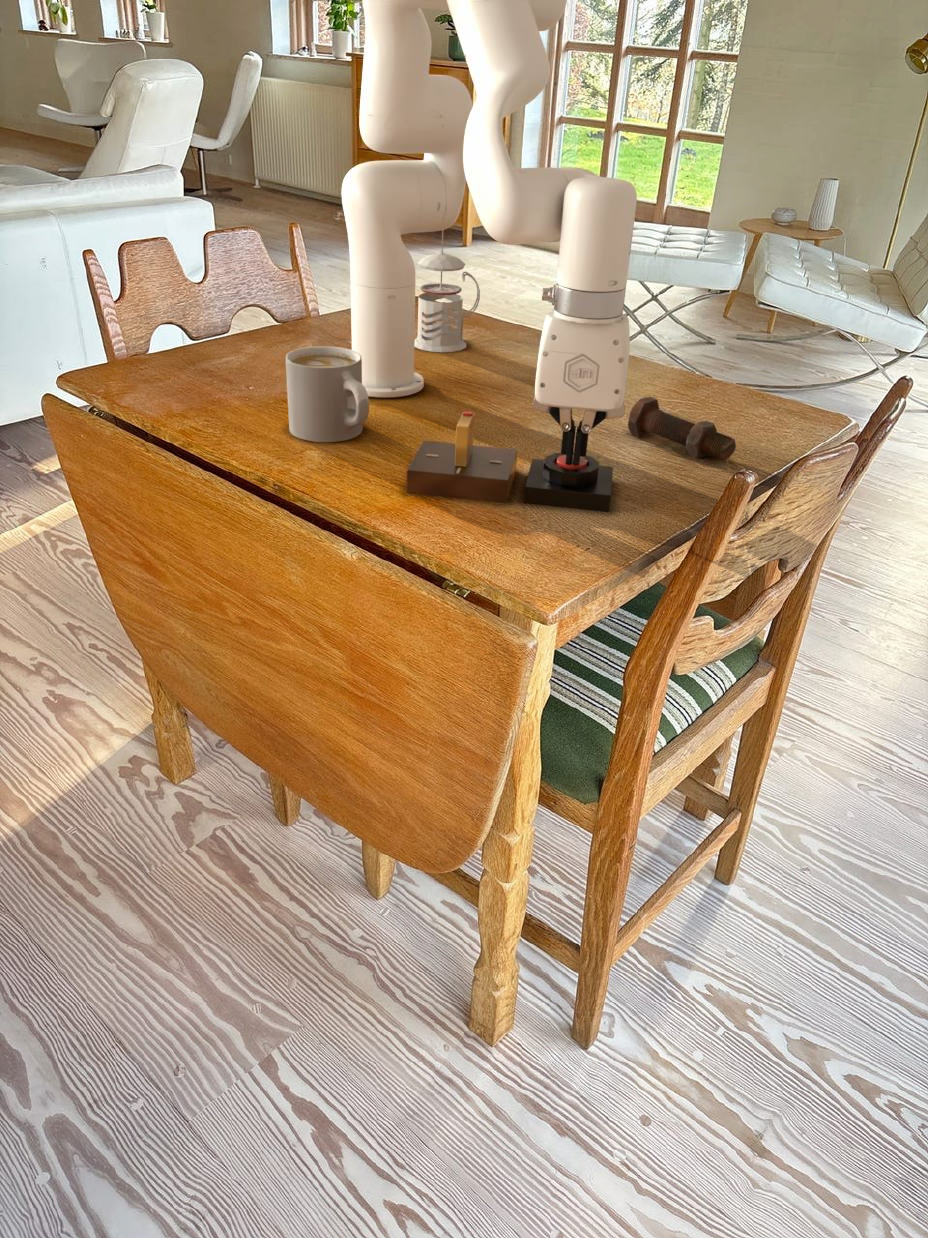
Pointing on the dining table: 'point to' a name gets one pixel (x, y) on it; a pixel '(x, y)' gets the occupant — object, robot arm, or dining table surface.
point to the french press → (442, 307)
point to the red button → (562, 463)
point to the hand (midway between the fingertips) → (572, 460)
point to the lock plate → (462, 472)
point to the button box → (569, 485)
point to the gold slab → (464, 439)
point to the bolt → (679, 430)
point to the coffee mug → (325, 394)
